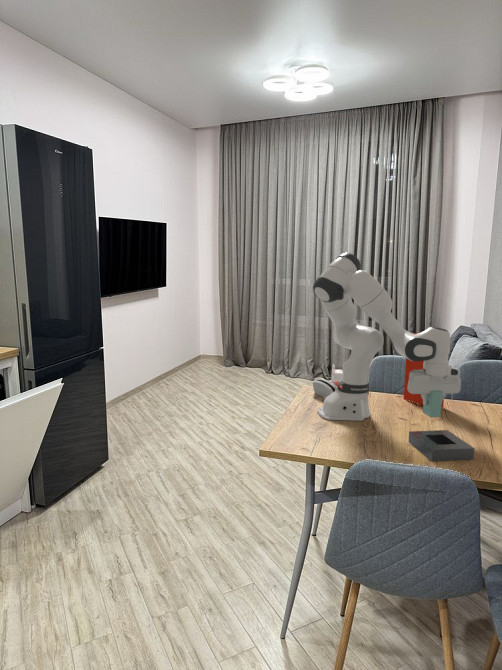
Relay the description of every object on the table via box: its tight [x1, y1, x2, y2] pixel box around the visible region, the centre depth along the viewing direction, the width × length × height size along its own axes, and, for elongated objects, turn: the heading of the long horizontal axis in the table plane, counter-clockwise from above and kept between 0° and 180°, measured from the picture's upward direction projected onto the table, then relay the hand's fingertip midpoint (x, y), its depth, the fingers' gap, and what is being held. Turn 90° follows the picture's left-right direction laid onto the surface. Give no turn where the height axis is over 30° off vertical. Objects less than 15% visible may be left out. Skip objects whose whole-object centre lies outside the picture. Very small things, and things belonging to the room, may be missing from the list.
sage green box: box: [422, 391, 443, 418], centre depth 180 cm, size 4×6×10 cm, turn 8°
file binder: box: [403, 332, 445, 408], centre depth 218 cm, size 8×17×32 cm, turn 24°
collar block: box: [408, 429, 475, 462], centre depth 165 cm, size 15×17×4 cm
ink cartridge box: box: [330, 363, 343, 388], centre depth 232 cm, size 9×5×15 cm, turn 178°
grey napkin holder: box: [312, 378, 337, 399], centre depth 226 cm, size 17×5×10 cm, turn 27°
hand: (432, 404), depth 180 cm, fingers closed on sage green box, 4 cm apart
